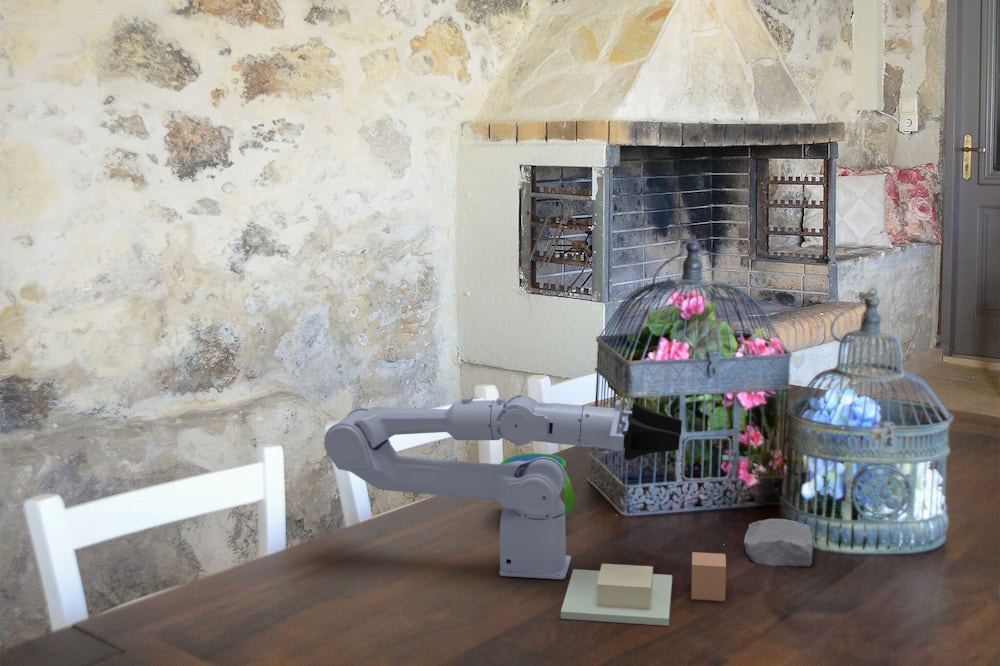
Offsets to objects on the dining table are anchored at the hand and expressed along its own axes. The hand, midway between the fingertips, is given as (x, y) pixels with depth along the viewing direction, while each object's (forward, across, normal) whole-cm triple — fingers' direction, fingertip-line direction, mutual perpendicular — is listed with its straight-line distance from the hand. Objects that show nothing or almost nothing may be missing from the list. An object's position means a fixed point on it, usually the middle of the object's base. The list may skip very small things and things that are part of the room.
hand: (680, 434), depth 151 cm
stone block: (+15, +13, +21) cm, 29 cm away
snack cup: (-23, +19, +22) cm, 37 cm away
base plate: (-6, -8, +22) cm, 24 cm away
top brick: (+5, -4, +21) cm, 22 cm away
